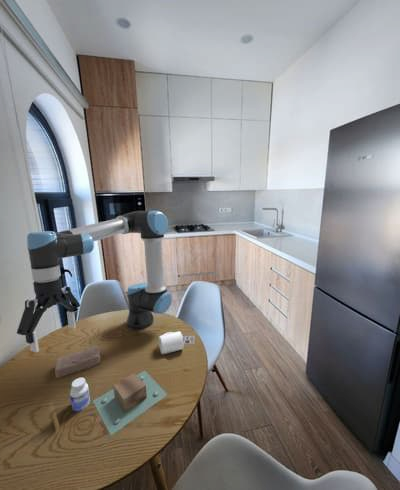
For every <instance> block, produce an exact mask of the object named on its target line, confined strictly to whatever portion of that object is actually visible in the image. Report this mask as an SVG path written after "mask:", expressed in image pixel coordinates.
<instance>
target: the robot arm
mask: <svg viewBox="0 0 400 490" xmlns="http://www.w3.org/2000/svg"><path fill="white" fill-rule="evenodd" d="M168 229H169V221H168V218H167V216H166V215H165V214H164V213H163V212H162V211H159V210H136V211H131V212H128V213H125V214H122V215H117V216H116V217H115V218H112V219H108V220H105V221H100V222H97V223H91V224H88V225H83V226H80V227H79V226H78V227H75V228H70V229H67V230H61V231H57V232H55V231H54V230H53V231H52V230H51V231H50V230H48V231H47V230H46V231H45V230H43V231H32V232H29V233H28V234H27V237H26V244H27V250H28V256H29V262H30V270H31V276H32V277H31V278H32V280H33V282H32V284H33V291H34V294H35V299H27V300H25V301H24V310H23V313H22V316H21V318H20V322H19V325H18V327H17V330H16V334H17V335H20V336H25V342H26V343H27V344H29V349H30V352H34V353H38V352H40V348H39V347H40V346H39V340H38V339H39V338H38V334H37V331H35V330H36V328H37V326H38V324H39V323H40V320H41V318H42V316H43V315H44V313H45V312H46V311H47V309H50V308H52V307H53V306H58V304H59V305H61V306H62V307H63V308H65V309H67V311H66V315H67V317H66V318H67V325H68V329H72V330H76V328H77V325H76V319H77V311H79V308H80V307H81V304H80V303H79V301H78V299H77V298H76V297H75V295H74V294H73V292H72V289H71V286H66V285H63V283H62V278H61V276H62V274H61V267H60V266H61V265H60V259H64V258H70V257H77V256H81V255H82V256H84V255H86V254H90V253H92V252H93V250H94V248H95V243H94V242H96V241H100V240H103V239H107V238H109V237H110V238H111V237H112V236H113V237H114V236H117V235H120V234H121V235H126V234H140V239H141V240H142V241H143V242H144V243H143V244H144V255H145V270H146V273H145V274H146V282H138V283H136V284H132V285H130V286H129V287H128V288H127V302H128V315H127V319H126V327H127V328H128V329H131V330H144V329H146V328H148V327H151V326H152V325H153V323H154V320H155V319H154V315H153V313H154V314H158V315H162V314H165V313H166V312H168V310H169V309H170V307H171V305H172V302H173V295H172V293H170V292H168V287H167V285H166V284H165V283H164V281H165V280H164V279H165V278H164V266H163V247H162V240H163V239H164V238H165V234H166V233H167V232H168ZM62 295H64V297H65V298H66V299H67V300H68V301H67V300H66V299H65V298H64V297H62Z"/></svg>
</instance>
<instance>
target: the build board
mask: <svg viewBox="0 0 400 490" xmlns="http://www.w3.org/2000/svg"><path fill="white" fill-rule="evenodd" d="M136 375H137V376H138V377H139V378H140V379H141V380H142V381H143V383H144V384H145V385H146V394H147V398H146V399H144V400H143V401H141V402H140V403H139V404H137V405H136V406H134V407H133V408H131V409H130V410H128V411H127V412H125V413H124V411H123V410H122V408H121V407H120V405H119V404H118V402H117V400H116V399H115V396H114V388H113V389H111V390H109V391H107V392H106V393H104V394H102V395H100V396H99V397H97V398H96V399H93V400H92V403H93V404H94V406H95V408H96V410H97V412H98V413H99V416H100V418H101V420H102V422H103V424H104V426H105V428H106V430H107V431H108V433H109V435H110V437H111V436H113V435H114V434H115V433H117V432H119V431H120V430H122V429H123V428H124V427H126V426H127V425H128V424H130V423H131V422H132V421H134V420H135V419H137V418H138V417H140V416H141V415H142V414H143V413H145V412H146V411H147V410H149V409H150V408H151V407H153V406H154V405H156V404H157V403H158V402H160V401H161V400H162V399H164V398H165V397H166V396H168V393H167V392H166V390H164V389H163V388H162V387H161V386H160V385H159V384H158V382H156V380H155V379H154V378H153V377H152V376H151V375H150V374H149V373H148V372H147V371H146V370H143V371H141V372H139V373H138V374H136Z"/></svg>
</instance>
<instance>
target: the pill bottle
mask: <svg viewBox="0 0 400 490" xmlns="http://www.w3.org/2000/svg"><path fill="white" fill-rule="evenodd" d="M89 389H90V387H89V385H88V383H87V382H86V378H84V377H78V378H76V379H74V380H72V382H71V388H70V391H69V396H70V403H71V410H73V412H74V411H75V412H80V411H83V410H85V408H87V407H88V406H89V404H90V402H91V398H90V390H89Z"/></svg>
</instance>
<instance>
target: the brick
mask: <svg viewBox="0 0 400 490" xmlns="http://www.w3.org/2000/svg"><path fill="white" fill-rule="evenodd" d="M101 360H102V359H101V352H100V347H99V345H96V346H92V347H91V346H90V347H89V348H86V349H83V350H80V351H78V352H73V353H69V354H65V355H63V356H60V357H58V358H57V360H56V364H55V369H54V374H55V378H56V379H58V378H63V377H65V376H67V375H71V374H74V373H76V372H80V371H83V370H86V369H89V368H92V367H94V366H97V365H99V364H100V363H101Z"/></svg>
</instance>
